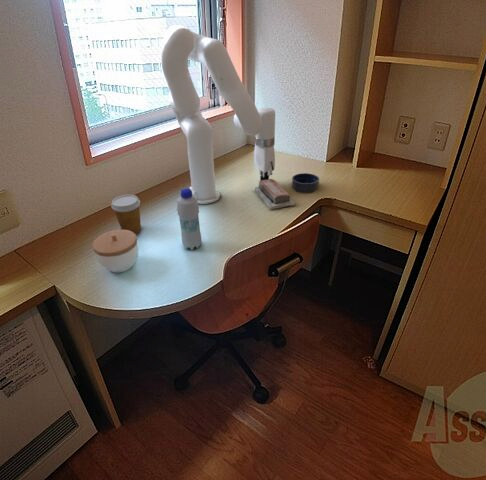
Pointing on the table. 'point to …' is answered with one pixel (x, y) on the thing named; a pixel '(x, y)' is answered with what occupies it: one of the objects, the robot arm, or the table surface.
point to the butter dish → (273, 194)
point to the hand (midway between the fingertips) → (264, 184)
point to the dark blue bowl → (305, 182)
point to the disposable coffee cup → (127, 212)
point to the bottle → (189, 219)
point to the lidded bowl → (116, 250)
